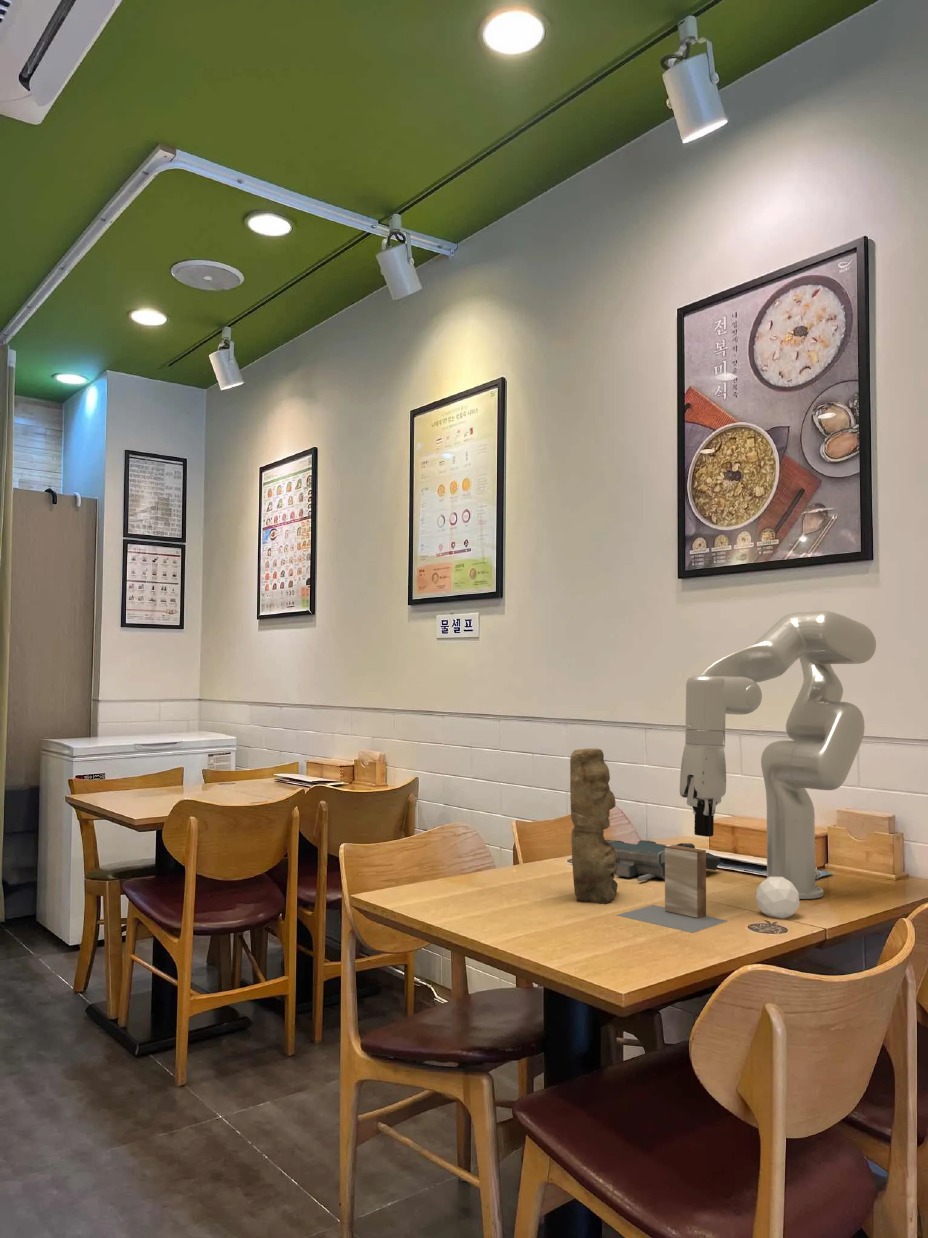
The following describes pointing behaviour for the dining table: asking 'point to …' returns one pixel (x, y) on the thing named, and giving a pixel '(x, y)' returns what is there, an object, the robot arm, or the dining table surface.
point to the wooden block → (685, 881)
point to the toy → (648, 859)
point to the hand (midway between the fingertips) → (703, 835)
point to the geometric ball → (777, 897)
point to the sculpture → (591, 827)
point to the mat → (671, 919)
